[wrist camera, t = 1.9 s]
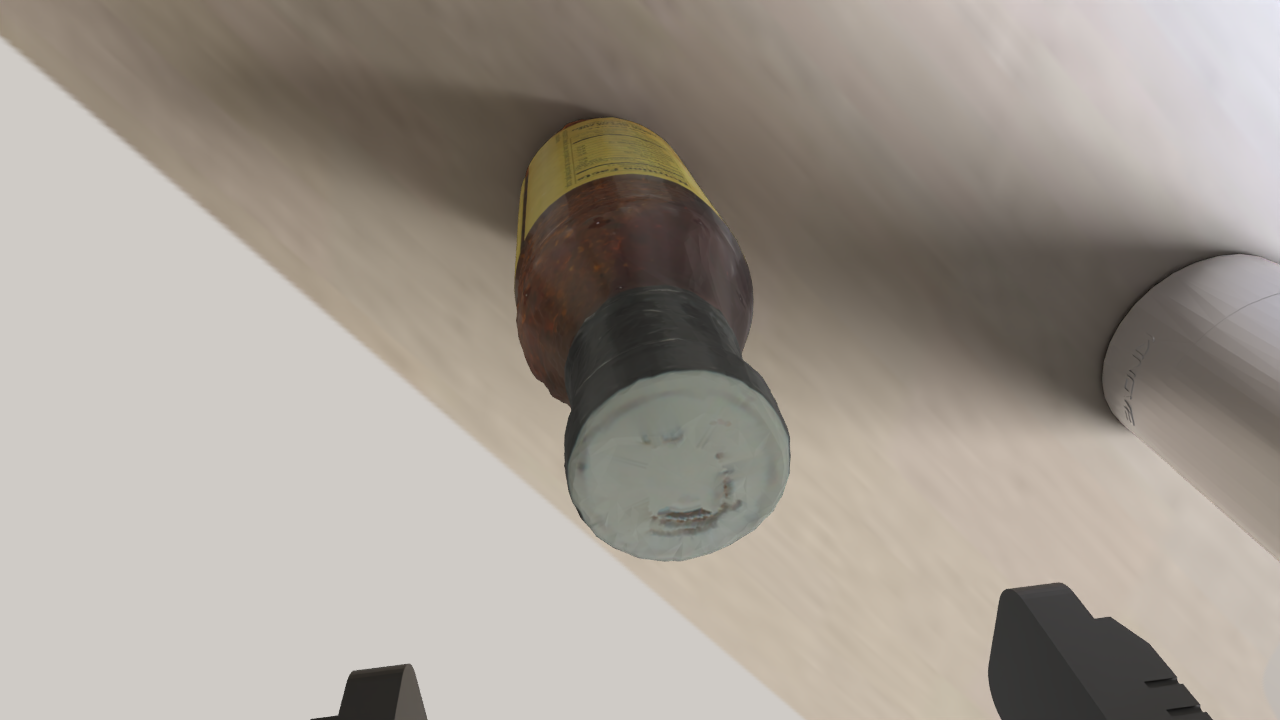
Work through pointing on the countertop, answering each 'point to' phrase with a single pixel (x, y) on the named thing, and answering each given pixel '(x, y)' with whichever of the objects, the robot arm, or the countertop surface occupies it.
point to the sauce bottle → (645, 344)
